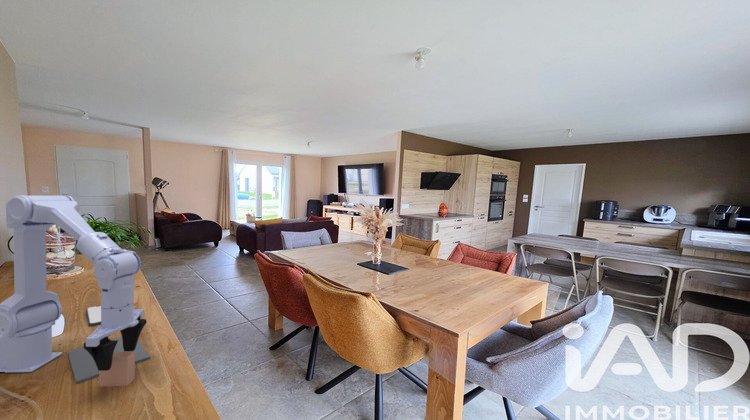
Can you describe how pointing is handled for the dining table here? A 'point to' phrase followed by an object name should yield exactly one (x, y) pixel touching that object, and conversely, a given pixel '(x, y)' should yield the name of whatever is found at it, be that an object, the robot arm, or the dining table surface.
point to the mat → (86, 365)
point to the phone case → (93, 316)
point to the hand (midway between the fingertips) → (117, 359)
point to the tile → (119, 370)
